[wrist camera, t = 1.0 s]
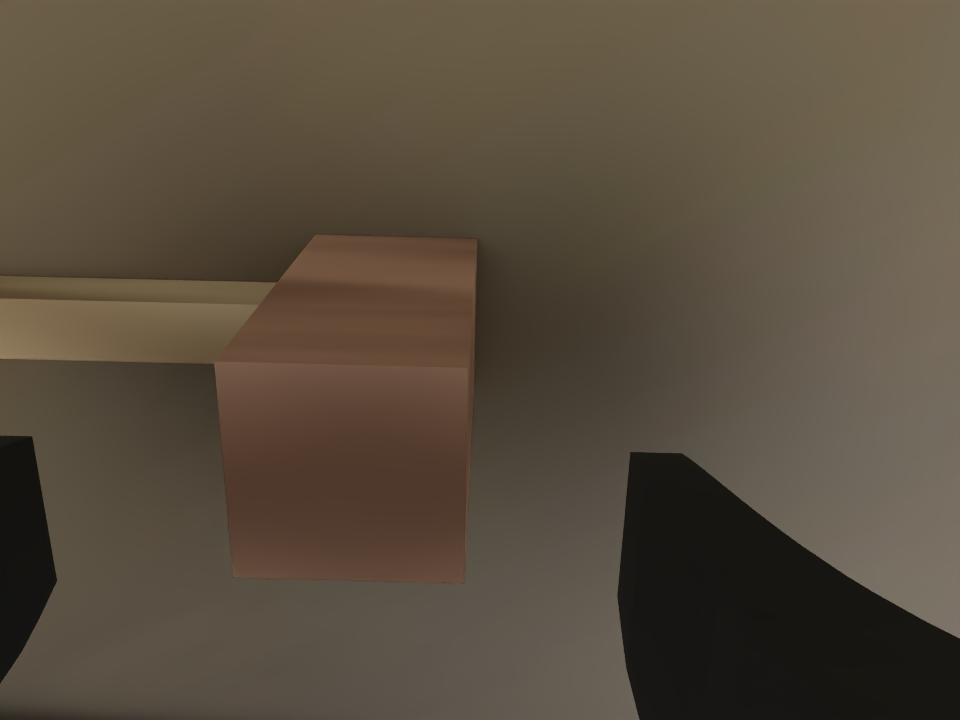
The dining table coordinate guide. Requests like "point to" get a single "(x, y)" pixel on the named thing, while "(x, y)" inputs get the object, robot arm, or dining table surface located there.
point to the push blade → (307, 395)
